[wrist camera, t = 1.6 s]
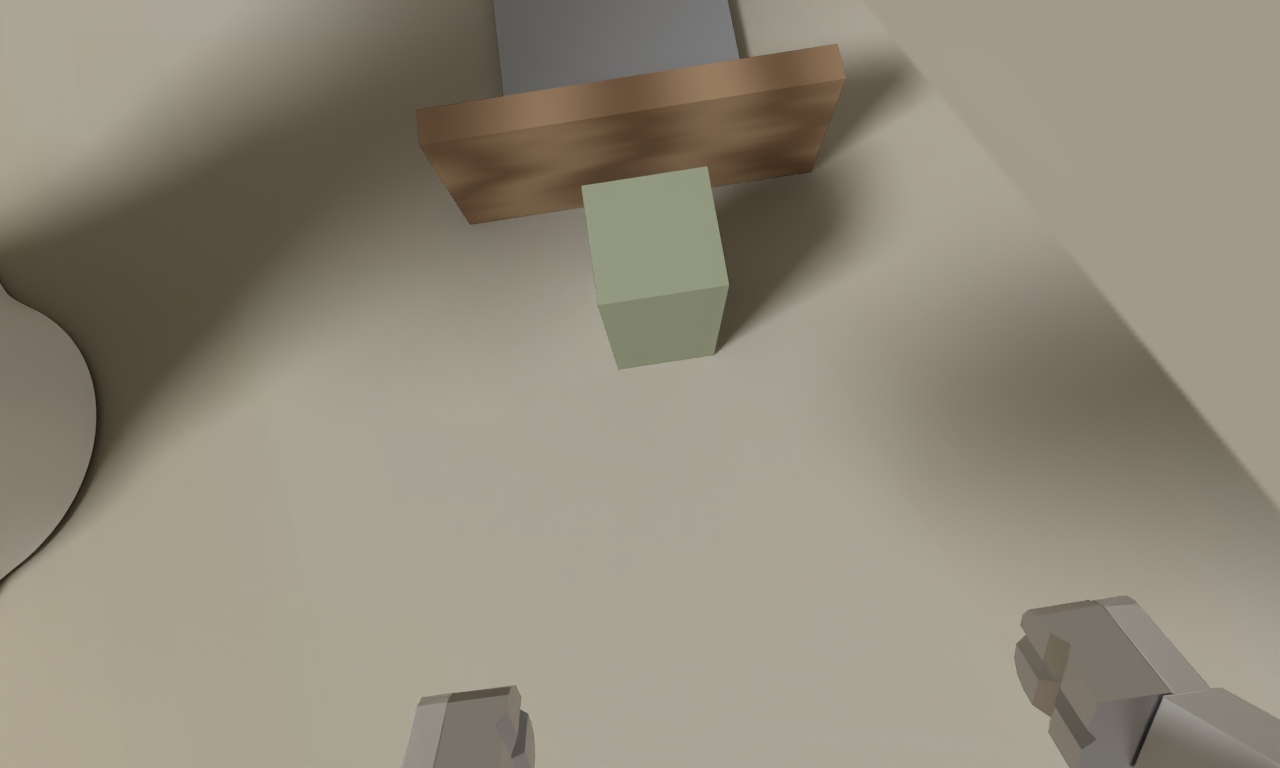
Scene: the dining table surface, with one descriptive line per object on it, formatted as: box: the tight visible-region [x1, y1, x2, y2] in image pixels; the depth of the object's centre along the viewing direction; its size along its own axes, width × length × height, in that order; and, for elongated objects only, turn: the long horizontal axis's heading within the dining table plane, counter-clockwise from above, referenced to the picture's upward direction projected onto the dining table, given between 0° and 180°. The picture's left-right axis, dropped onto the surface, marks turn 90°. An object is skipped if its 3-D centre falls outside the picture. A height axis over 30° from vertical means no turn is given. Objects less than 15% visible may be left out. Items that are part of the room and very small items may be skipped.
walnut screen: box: [417, 44, 846, 224], centre depth 31 cm, size 17×2×7 cm, turn 98°
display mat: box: [493, 0, 740, 96], centre depth 36 cm, size 12×9×1 cm
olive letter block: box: [581, 166, 729, 370], centre depth 28 cm, size 4×5×9 cm
